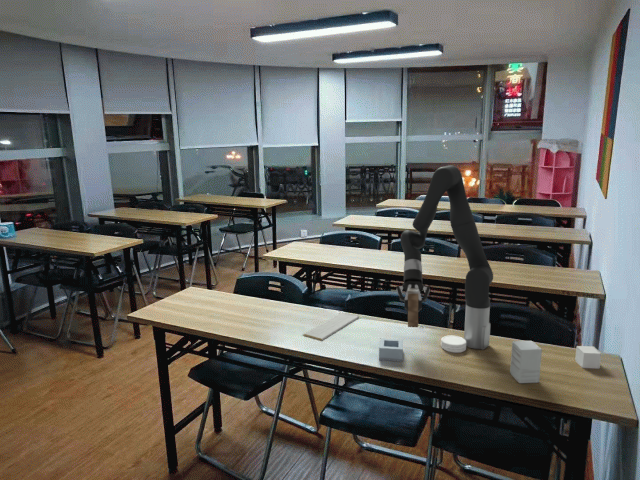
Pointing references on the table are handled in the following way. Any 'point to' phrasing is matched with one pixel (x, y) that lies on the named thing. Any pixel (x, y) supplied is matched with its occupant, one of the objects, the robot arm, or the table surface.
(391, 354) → the grey square collar
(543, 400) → the table surface
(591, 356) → the white cube
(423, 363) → the table surface
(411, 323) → the rail post
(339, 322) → the baseboard
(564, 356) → the table surface
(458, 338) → the white round disc
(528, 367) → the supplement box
